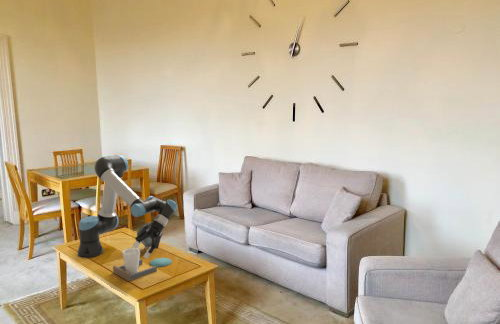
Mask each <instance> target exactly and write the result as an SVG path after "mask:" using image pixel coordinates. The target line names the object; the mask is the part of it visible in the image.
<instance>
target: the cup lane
mask: <svg viewBox="0 0 500 324" xmlns="http://www.w3.org/2000/svg"><path fill="white" fill-rule="evenodd" d="M142 264H143V259H139V266H140V265H142ZM157 268H158V267H156V266H154V267H153V266H151V267H149V268H145V269H143V270H140V271H138V272H137V273H135V274H132V275H130V273H128V272H126V268H125V264H121V265H119V266H117V265H113V266H112V271H113V274H115V275H116V276H118V277H120V278H122V279H124V280H126V281H127V282H130V281H133V280H135V279H138V278H140V277H143V276H146V275H149V274H152V273H154V272H157Z"/></svg>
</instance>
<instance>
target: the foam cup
mask: <svg viewBox="0 0 500 324" xmlns="http://www.w3.org/2000/svg"><path fill="white" fill-rule="evenodd" d="M140 255H141V250H140V248H139V247H138V248H132V247H130V248H126V249H124V250H122V258H123V262H124V265H125V268H126V270H125V271H126V272H128V273H130V275H132V274H135V273H137V272H139V266H140V265H139V260H140Z"/></svg>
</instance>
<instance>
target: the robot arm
mask: <svg viewBox="0 0 500 324" xmlns="http://www.w3.org/2000/svg"><path fill="white" fill-rule="evenodd" d="M129 167H130V166H129V162H128V160H127V158H126V157H125V156H124V155H122V154H115V155H108V156H102V157H99V158H98V159H97V160H96V161H95V164H94V172H95V174H96V176H97V178H98V179H99V180H100V181H102V182H105V183H104V190H103V194H102V202H101V207H100V210H98V211H97V216H96V215H90V216H86V217H83V218H81V219H80V220H79V222H78V230H79V232H78V234H79V245H78V249H77V257H78V258H84V259H86V258H87V259H88V258H95V257H98V256H100V255H103V254H104V253H103V252H104V248H103V246H102V243H101V241H100V235H103V234H105V233H107V232H112V231H113V230H115V229H117V227H118V225H119V221H120V220H119V217H118V215H117V212H116V210H115V209H116V204H117V199H118V196H119V197H120V198H121V199H122V200H123V201H124V202H125V204H127V206H129V207H130V213H131V215H132V216H133V217H135V218H138V217H142V216H144V215H147V214H150V213H153V212H156V213H158V214H156V216H155V217H154V220H153V221H152V222H151V223H152V224H151V228H150V229H149V228H148V227H146V229H145V230H144V231H143V232H142V233H140V234H139V235H138V236H137V235H136V236H135V237H134V239H135V242H134V244H133V245H132V247H131V248H138V249H139V247H140V244H141V241H143V240H144V239H146V238H148V237H152V244H151V247H149V249H148V250H147V251H146V252H145V253H144V254H143V258H145V259H146V260H147V259H148V258H149V257H150V255H151V254H152V253H153V251H154V250H155V249H159V245H160V242H161V238H162V236H163V233H162V231H163V230H164V228H165V226H166V225H167V224H168V222H169V221H170V219H171V218H172V216H173V215H174V213H176V210H177V208H178V204H177V203H176V201H174V200H172V199H167V200H166V201H164V200H162V199H160V198H159V197H156V196H154V195H150V196H148V197H146V198H145V200H144V201H143V199H141V198H140V196H138V194H137V193H136V192H135V191H133V190H132V189H131V188H130V186H128V185H127V184H126V182H124V181H123V180H122V179H123V177H124V173H125V172H127V171H128V170H129ZM156 245H157V246H156Z"/></svg>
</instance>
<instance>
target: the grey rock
mask: <svg viewBox="0 0 500 324" xmlns="http://www.w3.org/2000/svg"><path fill="white" fill-rule="evenodd" d="M151 224H152V222H146V223H145V224H143V225H142V227H140V228H139V229H138V231H137V232H136V237H137V236H138V235H139V234H140V233H142V232H143V231H144V230H145V229H146V227H148V228H149V229H150V228H151ZM140 244H141V245H143V246H144V251H146V252H147V250H148V249H149V247H151V244H152V237H148V238H146V239H144V240H143V241H141V242H140ZM156 246H157V245H156Z"/></svg>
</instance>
